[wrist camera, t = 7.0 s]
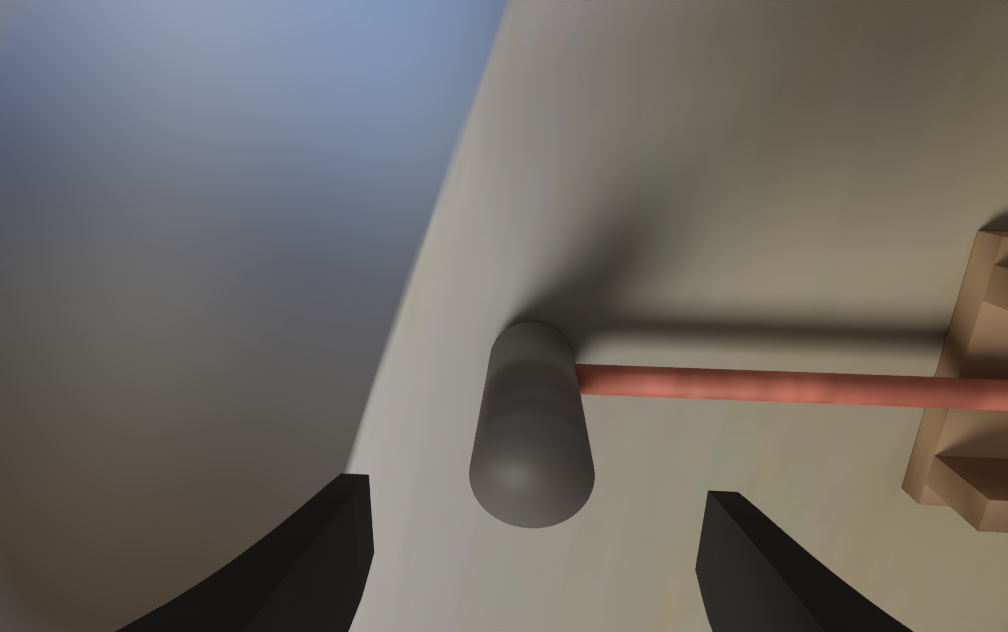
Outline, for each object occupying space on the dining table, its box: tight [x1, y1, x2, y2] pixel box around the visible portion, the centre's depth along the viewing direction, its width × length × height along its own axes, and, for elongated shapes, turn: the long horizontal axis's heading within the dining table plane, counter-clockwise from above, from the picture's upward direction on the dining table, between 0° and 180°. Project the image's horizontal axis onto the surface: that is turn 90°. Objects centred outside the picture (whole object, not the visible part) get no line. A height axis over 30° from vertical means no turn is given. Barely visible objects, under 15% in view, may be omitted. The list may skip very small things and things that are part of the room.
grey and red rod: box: [469, 321, 1008, 528], centre depth 16 cm, size 5×27×7 cm, turn 89°
